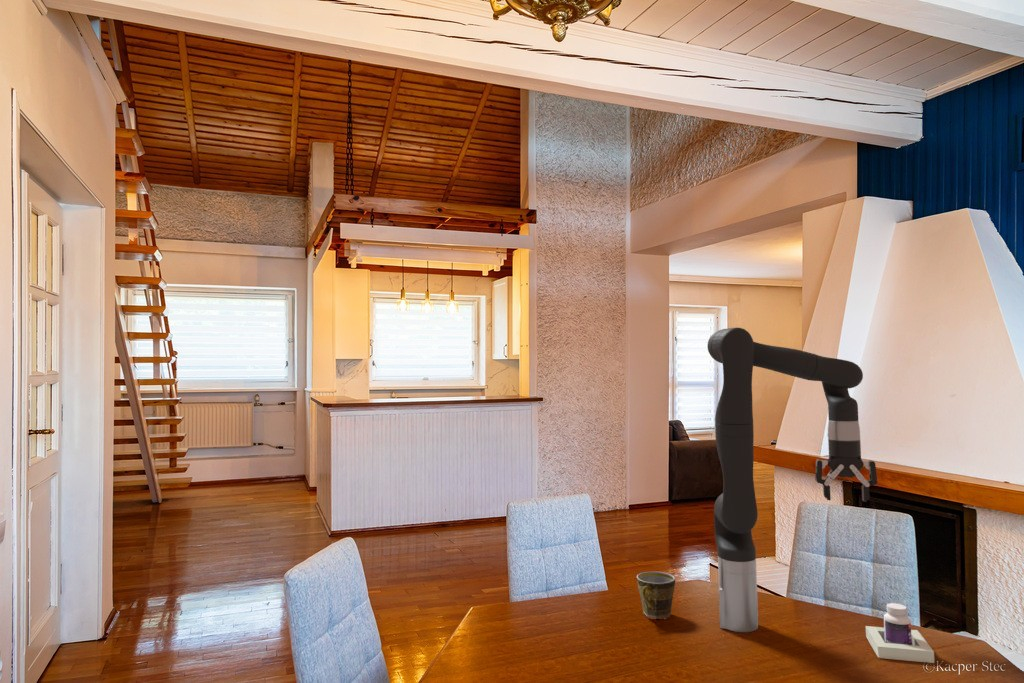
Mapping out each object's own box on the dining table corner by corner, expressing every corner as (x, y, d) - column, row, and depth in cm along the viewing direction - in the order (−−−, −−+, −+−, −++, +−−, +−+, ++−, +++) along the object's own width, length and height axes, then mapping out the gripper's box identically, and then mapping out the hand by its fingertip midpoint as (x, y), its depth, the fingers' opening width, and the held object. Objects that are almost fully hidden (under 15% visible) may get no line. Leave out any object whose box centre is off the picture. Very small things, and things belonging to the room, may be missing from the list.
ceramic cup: (647, 606, 183) (646, 569, 184) (682, 613, 177) (681, 575, 178) (626, 621, 173) (625, 582, 173) (662, 629, 167) (661, 589, 167)
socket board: (878, 657, 148) (877, 646, 149) (866, 636, 160) (865, 626, 160) (934, 663, 145) (933, 651, 145) (917, 640, 157) (917, 630, 157)
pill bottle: (915, 654, 150) (914, 610, 150) (889, 653, 151) (888, 609, 151) (906, 644, 155) (904, 602, 155) (881, 643, 156) (879, 601, 156)
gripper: (816, 439, 172) (819, 502, 171) (878, 439, 168) (880, 504, 167) (812, 436, 179) (814, 496, 178) (871, 436, 175) (873, 498, 174)
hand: (846, 500), depth 173 cm, fingers open, 8 cm apart
